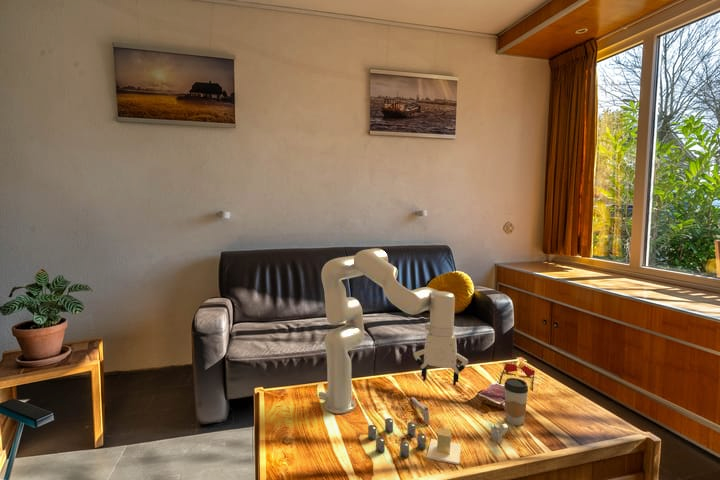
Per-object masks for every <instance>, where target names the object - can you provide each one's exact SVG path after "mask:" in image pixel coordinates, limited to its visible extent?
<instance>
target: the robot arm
mask: <svg viewBox="0 0 720 480" xmlns="http://www.w3.org/2000/svg"><path fill="white" fill-rule="evenodd" d="M398 275H399V270H398V269H397V267H396V266H394V265H393V264H391V263H390V262H389V257H388V254H387V253H386V252H385V251H384V250H383V249H381V248H378V247H375V248H369V249H362V250H360V251H358V252H356V254H354V255H349V256H342V257H341V256H340V257H337V258H333V259H330V260H329V261H327V262H326V263H325V264H324V265H323V267H322V269H321V282H322V283H321V284H322V285H323V286H322V287H323V290H324V305H325V315H326V321H327V322H328V324H330V326H331V325H332V326H339V327H337V328H334V329H332V330H330V331H329V332H327V334H326V335H325V337H324V346H325V352H326V353H325V354H326V366H327V367H326V368H327V369H326V370H327V384H326V385H327V391H326V392H324V391H319V392H318V399H319V400H321V401H322V400H323V408H324V409H325V410H326V412H328V413H332V414H340V415H341V414H342V415H343V414H346V413H350V412H351V411H352V410H354V409H355V407H356V401H355V399H353V398H352V360H351V357H350V355H349V353H348V352H349V350H351V349H354V348H357V347H358V346H360V345H361V344H362V343H363V342H364V339H365V326H364V316H363V315H364V314H363V307H362V305H361V302H360V301H359V299H357V298H355V297H352V296H348V297H347V291H346V287H345V284H344V283H343V281H342V280H347V279H353V278H356V277H361V276H366V277H367V278H368V279H369V280H371V281H372V282H374V283H375V284H377V285H378V286H380V287H381V288H382V292H383V293H384V295H385V298H386V299H387V300H388V301H389V302H390V303H391V304H392V305H393V306H395V307H396V308H397V309H399V310H400V311H402V312H403V313H405V314H409V315H411V316H413V315H418V314H420V313H423V312H425V311H430V312H429V316H430V317H429V324H425V326H424V329H425V330H428V332H427V334H426V337H425V343H424V348H423V349H420V350H418V351H415V352H414V353H413V356H414V360H416V363H417V364H418V366H420V369H421V377H422V381H426V380H427V377H428V376H427V375H428V366H430V367H437V368H443V369H452V370H453V371H454V372H453V379H452V380H453V381H452V383H453V384H452V385H453V386H455V387H456V385H457V384H456V383H458V382H459V377H460V376H459V374H460V372H462V371H463V370H465V368H466V366H467V365H468V363H469V359H467V358H466V357H465V356H463V355H461V354H460V353H458V348H457V347H458V346H457V338H456V335H455V334H454V332H455V330H454V329H455V328H454V327H455V326H454V325H455V307H456V306H455V305H456V304H455V303H456V297H455V295H454V293H452V292H449V291H443V290H442V291H439V290H437V289H435V288H432V287H427V286H424V287H419V288H415V289H413V290H411V289H409V288H406V287H405V286H404V285H402V284H401V283H399V281H398V280H397V279H398ZM340 325H341V326H340ZM422 355H423V359H422V358H421V357H420V356H422ZM457 360H459V361H460V362H461V364H460V365H458V364H457Z"/></svg>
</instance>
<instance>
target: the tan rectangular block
mask: <svg viewBox="0 0 720 480" xmlns="http://www.w3.org/2000/svg"><path fill="white" fill-rule="evenodd" d="M436 440H437V452H439V453H444V454H449V455H450V450H451V443H452V429H447V428H443V427H442V428H441V427H438V430H437V439H436Z"/></svg>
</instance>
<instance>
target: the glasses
mask: <svg viewBox="0 0 720 480" xmlns="http://www.w3.org/2000/svg"><path fill="white" fill-rule="evenodd" d="M518 366H519V367H520V368H519V369H520V372H521V373H524V374H525V375H526V376H527V377H531V376H532V379H531V391H532V392H534V380H535V373H536V372H535V369H534V368H532V367H530V366H526V365H524V366H523V365H522V366H521V365H518V364H515V363H514V364H513V363H505V365H503V370H502V373H501V375H500V377H499V378H500V380H499V384H500V385H501V383H502V380H503V379H502V378H503V375H504V372H506V373H511V372H518ZM499 384H498V385H499Z"/></svg>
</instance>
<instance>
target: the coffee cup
mask: <svg viewBox="0 0 720 480" xmlns="http://www.w3.org/2000/svg"><path fill="white" fill-rule="evenodd" d="M503 388H504V409H505V410H504V411H505V420H506V422H507V423H508V424H510V425H513V426H522V425H523V424H524V423H525V419H526V418H525V416H526V408H527V400H528V392H529V386H528V384H527V382H526V381H525V380H523V379H520V378H516V377H509V378H507V379H506V380H505V382H504V386H503Z"/></svg>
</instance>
